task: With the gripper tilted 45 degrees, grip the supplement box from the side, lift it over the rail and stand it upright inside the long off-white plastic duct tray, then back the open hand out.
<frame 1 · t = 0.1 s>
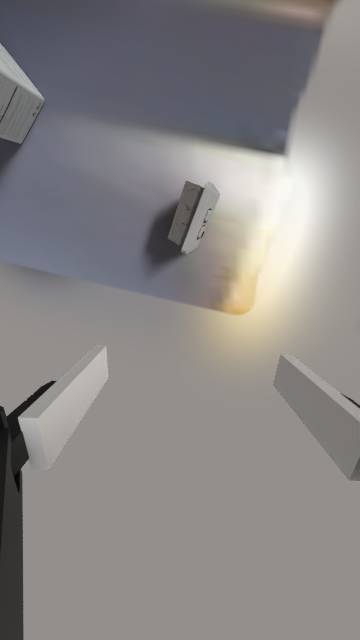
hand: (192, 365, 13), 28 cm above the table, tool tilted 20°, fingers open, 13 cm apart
supplement box: (9, 95, 24), on the table
electrical switch: (193, 218, 32), on the table
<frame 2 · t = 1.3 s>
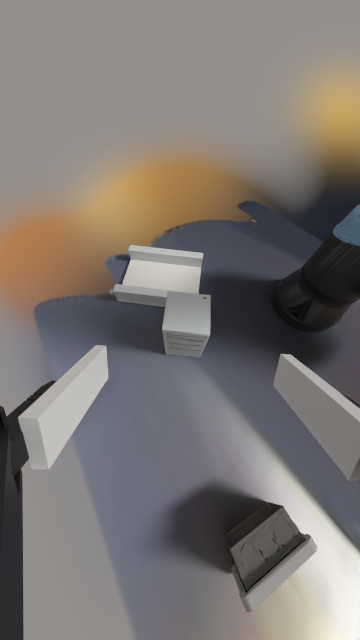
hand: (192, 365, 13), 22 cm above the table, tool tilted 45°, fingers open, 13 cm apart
duct tray: (162, 281, 46), on the table
supplement box: (183, 341, 39), on the table
electrical switch: (248, 527, 26), on the table
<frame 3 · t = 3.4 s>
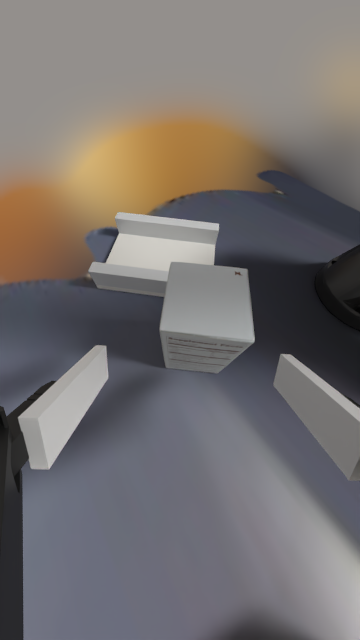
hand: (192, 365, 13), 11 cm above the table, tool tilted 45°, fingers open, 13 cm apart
duct tray: (161, 263, 33), on the table
supplement box: (193, 347, 26), on the table
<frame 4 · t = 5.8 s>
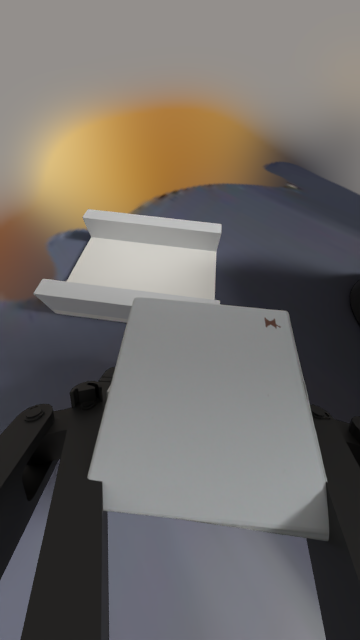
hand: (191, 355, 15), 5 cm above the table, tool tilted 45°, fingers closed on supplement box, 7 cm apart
duct tray: (146, 276, 25), on the table
supplement box: (186, 404, 18), on the table, touching gripper
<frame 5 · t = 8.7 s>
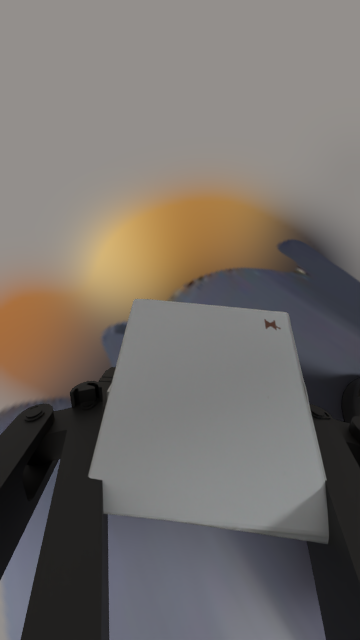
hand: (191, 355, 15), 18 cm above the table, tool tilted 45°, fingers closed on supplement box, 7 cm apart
supplement box: (186, 405, 18), point 13 cm above the table, touching gripper
when the fingers open (7 cm above the table, at t = 11.6 s): supplement box drops 1 cm, resting on duct tray.
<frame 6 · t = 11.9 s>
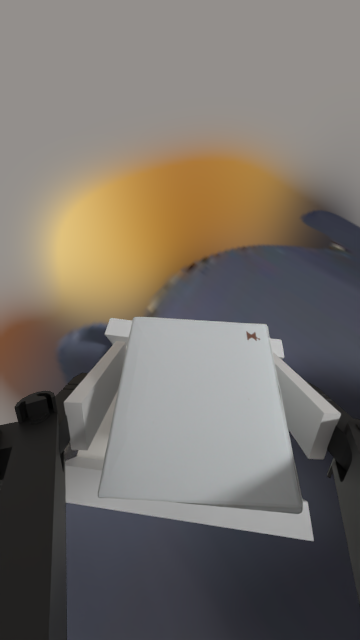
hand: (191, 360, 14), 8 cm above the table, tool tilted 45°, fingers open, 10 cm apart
duct tray: (185, 405, 20), on the table
supplement box: (184, 405, 19), point 1 cm above the table, touching duct tray
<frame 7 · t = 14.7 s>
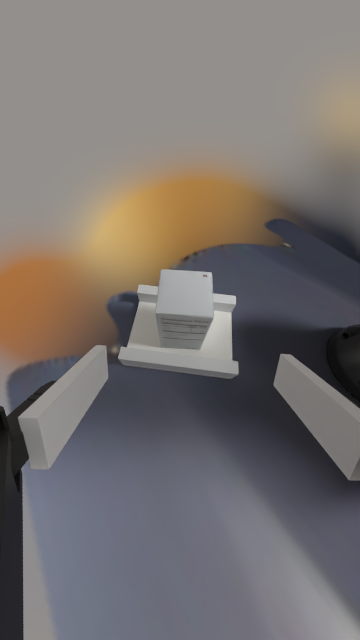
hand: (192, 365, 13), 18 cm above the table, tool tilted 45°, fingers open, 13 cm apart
duct tray: (181, 333, 35), on the table
supplement box: (181, 331, 34), point 1 cm above the table, touching duct tray
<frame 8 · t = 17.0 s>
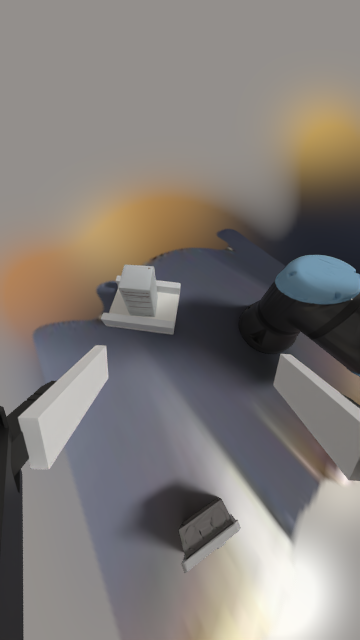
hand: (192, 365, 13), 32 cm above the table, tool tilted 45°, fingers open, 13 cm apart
duct tray: (145, 307, 53), on the table
supplement box: (144, 306, 52), point 1 cm above the table, touching duct tray
electrical switch: (202, 516, 32), on the table
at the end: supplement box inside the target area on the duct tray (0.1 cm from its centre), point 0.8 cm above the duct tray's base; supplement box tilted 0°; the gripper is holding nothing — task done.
